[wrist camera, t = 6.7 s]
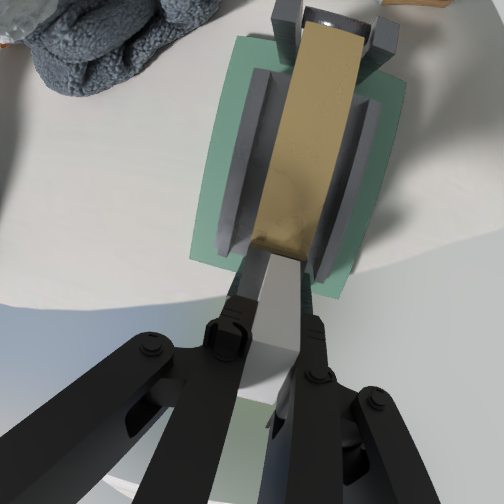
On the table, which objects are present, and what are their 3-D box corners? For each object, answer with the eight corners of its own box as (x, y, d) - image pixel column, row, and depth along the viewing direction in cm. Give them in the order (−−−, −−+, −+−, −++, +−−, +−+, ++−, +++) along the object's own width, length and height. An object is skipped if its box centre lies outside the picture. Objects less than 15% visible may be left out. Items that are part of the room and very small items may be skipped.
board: (239, 40, 18) (237, 35, 17) (401, 85, 18) (406, 82, 16) (193, 253, 26) (189, 258, 25) (336, 292, 26) (338, 299, 24)
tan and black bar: (305, 13, 10) (306, -2, 9) (366, 30, 10) (374, 18, 9) (227, 326, 18) (221, 343, 16) (277, 340, 18) (275, 357, 16)
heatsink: (275, 45, 18) (260, -16, 9) (369, 71, 18) (418, 29, 8) (223, 262, 26) (185, 330, 16) (307, 285, 26) (310, 364, 16)
